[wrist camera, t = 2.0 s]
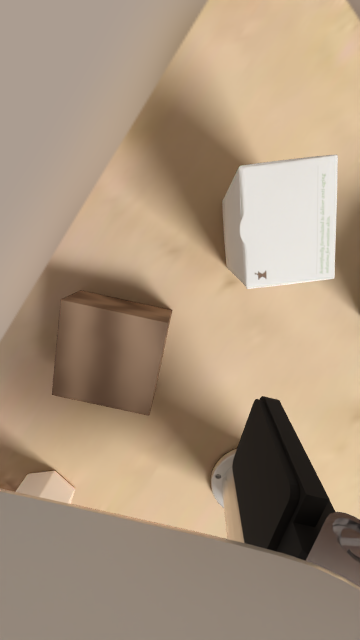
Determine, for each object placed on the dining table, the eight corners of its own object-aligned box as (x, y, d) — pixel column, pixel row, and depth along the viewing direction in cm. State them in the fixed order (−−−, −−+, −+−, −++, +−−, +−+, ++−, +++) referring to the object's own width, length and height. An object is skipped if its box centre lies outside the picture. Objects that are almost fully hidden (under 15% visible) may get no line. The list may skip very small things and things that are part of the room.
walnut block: (172, 309, 38) (168, 323, 32) (155, 390, 41) (148, 415, 35) (81, 290, 37) (60, 299, 32) (72, 372, 41) (51, 394, 35)
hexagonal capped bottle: (11, 485, 47) (-48, 567, 35) (45, 459, 45) (-6, 537, 33) (52, 519, 48) (7, 608, 37) (86, 496, 47) (50, 581, 35)
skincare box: (277, 264, 35) (339, 285, 20) (222, 269, 36) (242, 294, 21) (276, 189, 33) (345, 150, 18) (218, 196, 33) (237, 163, 18)
